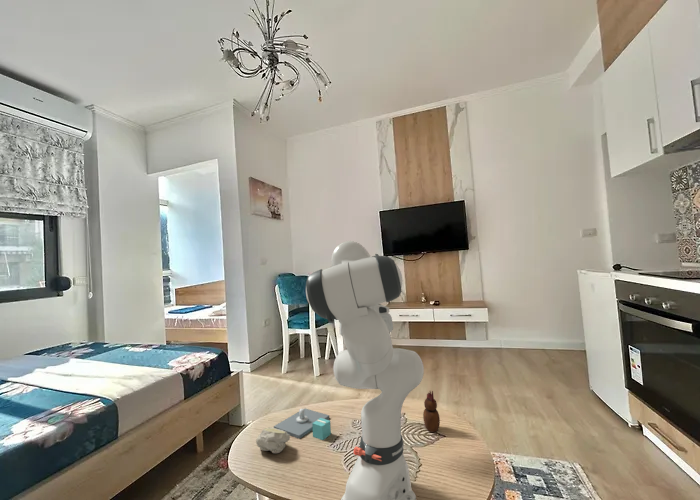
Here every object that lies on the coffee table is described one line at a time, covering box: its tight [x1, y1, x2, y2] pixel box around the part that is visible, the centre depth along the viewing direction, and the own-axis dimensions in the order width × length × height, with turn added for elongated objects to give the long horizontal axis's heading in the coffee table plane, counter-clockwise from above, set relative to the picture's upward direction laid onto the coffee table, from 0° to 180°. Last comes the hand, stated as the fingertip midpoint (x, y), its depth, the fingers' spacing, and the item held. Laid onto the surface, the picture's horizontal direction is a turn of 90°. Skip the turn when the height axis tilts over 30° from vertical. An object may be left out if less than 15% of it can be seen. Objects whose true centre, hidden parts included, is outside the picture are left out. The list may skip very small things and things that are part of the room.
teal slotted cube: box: [312, 418, 332, 441], centre depth 120 cm, size 5×5×5 cm
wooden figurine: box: [422, 390, 441, 433], centre depth 121 cm, size 7×6×15 cm
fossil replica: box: [255, 427, 291, 454], centre depth 112 cm, size 12×8×10 cm
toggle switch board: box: [273, 407, 330, 440], centre depth 130 cm, size 18×14×6 cm
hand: (367, 346), depth 119 cm, fingers open, 8 cm apart
